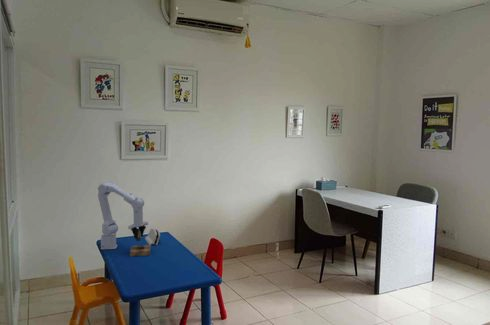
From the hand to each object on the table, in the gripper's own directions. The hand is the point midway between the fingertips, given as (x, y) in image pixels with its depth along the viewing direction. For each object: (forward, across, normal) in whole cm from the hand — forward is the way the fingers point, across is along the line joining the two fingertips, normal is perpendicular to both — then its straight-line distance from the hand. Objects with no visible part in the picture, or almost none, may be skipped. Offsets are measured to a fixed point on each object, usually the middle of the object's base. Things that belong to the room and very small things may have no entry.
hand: (138, 237), depth 248 cm
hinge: (+9, +19, +8) cm, 23 cm away
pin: (+2, 0, 0) cm, 2 cm away
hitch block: (+9, -1, -4) cm, 10 cm away
